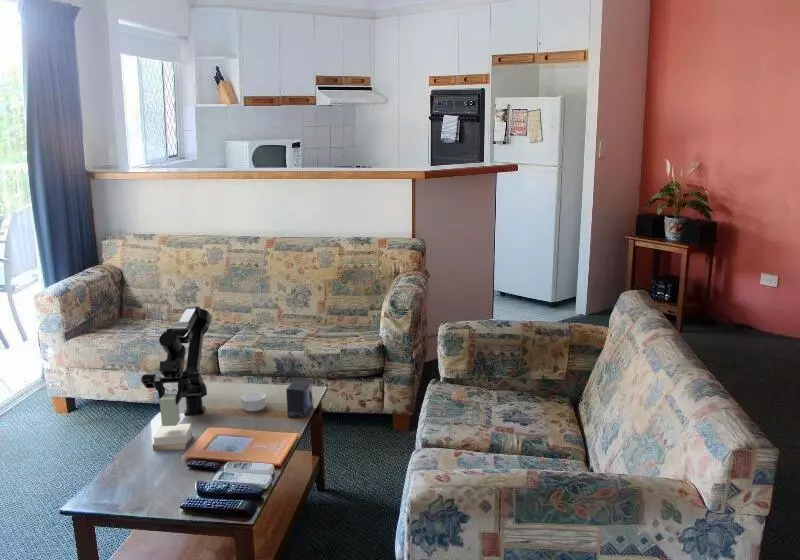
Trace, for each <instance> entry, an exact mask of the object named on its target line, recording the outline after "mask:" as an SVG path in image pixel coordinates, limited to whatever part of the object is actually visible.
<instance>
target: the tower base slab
mask: <svg viewBox="0 0 800 560" xmlns="http://www.w3.org/2000/svg"><path fill="white" fill-rule="evenodd" d="M192 438H193V430H192V431H191V434H190V436H189V438H188V441H187V443H179V444H165V445H154V442H153V443H152V451H167V450H168V451H169V450H170V451H171V450H185V449H186V447H187V445H189V442H190V441H191V439H192Z"/></svg>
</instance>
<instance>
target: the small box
mask: <svg viewBox="0 0 800 560" xmlns="http://www.w3.org/2000/svg"><path fill="white" fill-rule="evenodd" d="M312 383H313V381H312V380H309V379H297V378H296V379H295V380H294V381H293V382H292V383H291V384H290V385H289V386H288V387H286V407H287V408H286V409H287V413H286V414H287V417H288V418H300V419H301V418H302V419H303V418H305V417H306V416H307V414H308V413H309V412H310V411H311V410H312V409H313V407H314V403H313V402H314V400H313V384H312Z"/></svg>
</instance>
